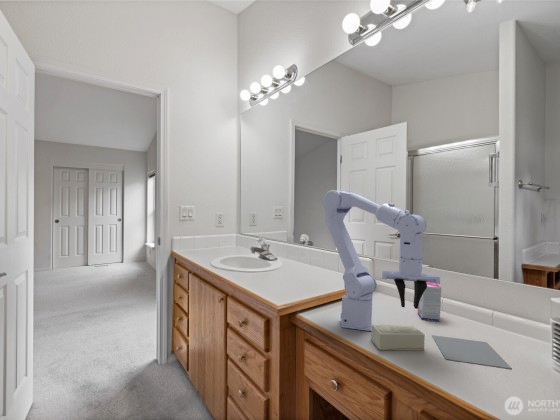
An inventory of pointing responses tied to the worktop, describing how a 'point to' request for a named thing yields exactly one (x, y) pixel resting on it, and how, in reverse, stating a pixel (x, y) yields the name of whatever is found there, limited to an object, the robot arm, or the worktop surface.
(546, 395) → the worktop surface
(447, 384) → the worktop surface
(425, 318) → the supplement box
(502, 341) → the worktop surface
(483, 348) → the rubber mat
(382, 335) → the skincare box
